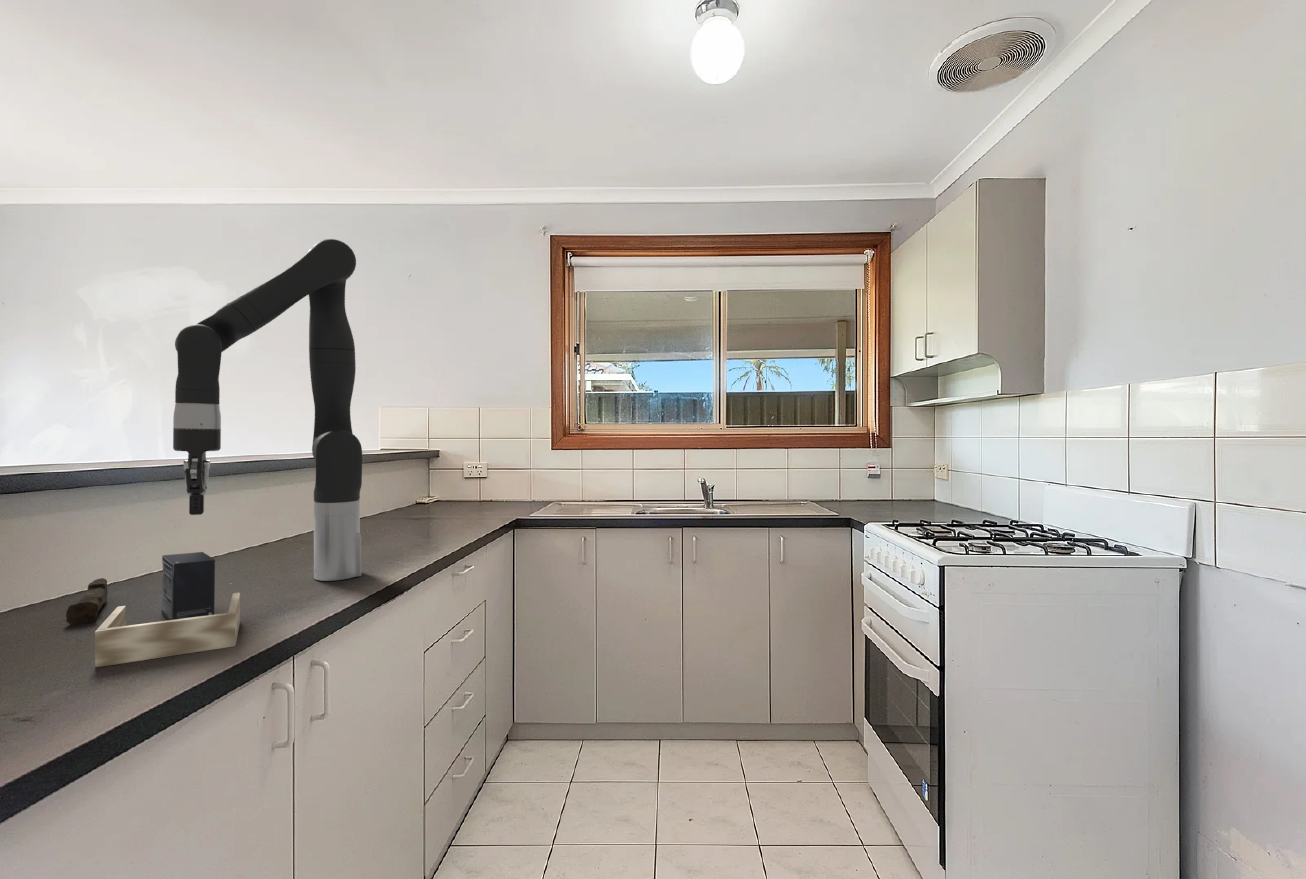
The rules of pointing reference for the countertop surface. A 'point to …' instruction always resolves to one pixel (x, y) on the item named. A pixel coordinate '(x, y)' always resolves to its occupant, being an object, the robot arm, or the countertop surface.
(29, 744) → the countertop surface
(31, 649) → the countertop surface
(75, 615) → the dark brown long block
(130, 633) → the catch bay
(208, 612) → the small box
